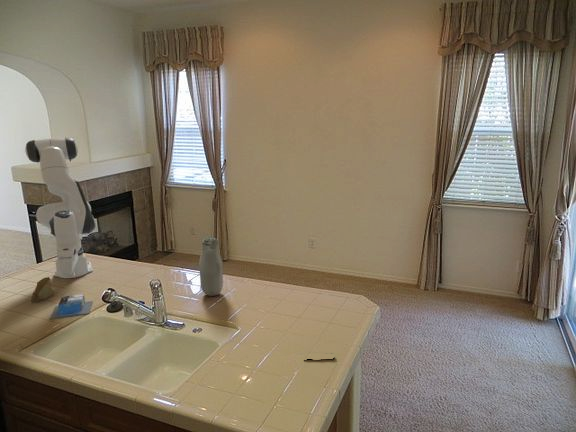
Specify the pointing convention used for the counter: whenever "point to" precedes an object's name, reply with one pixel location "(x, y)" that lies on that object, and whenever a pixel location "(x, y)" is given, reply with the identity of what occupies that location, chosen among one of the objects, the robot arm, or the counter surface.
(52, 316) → the mat
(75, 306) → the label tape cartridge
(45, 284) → the rock
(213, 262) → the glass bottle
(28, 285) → the counter surface
